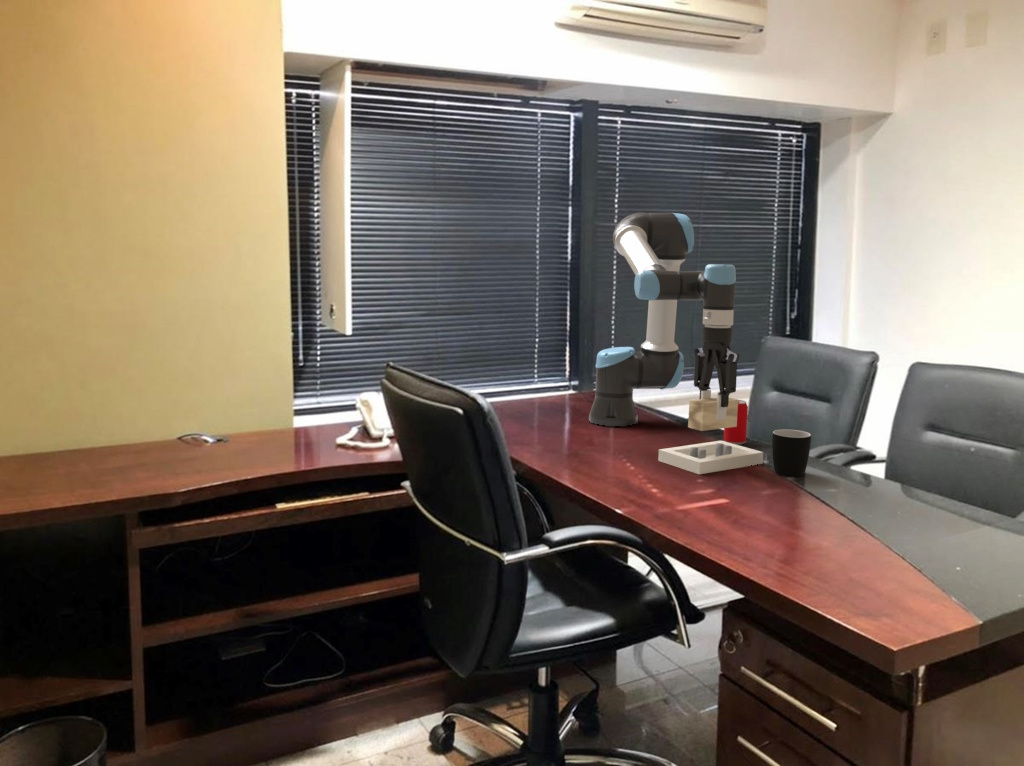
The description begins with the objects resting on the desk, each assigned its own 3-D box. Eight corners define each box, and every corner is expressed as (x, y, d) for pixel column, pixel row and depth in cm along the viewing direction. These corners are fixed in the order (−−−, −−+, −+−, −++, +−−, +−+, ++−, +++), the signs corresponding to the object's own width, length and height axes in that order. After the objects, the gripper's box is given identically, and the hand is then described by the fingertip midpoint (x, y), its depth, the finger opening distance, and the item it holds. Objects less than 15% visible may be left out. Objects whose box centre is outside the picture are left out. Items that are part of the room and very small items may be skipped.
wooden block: (688, 427, 217) (689, 400, 215) (722, 423, 223) (723, 396, 222) (701, 431, 212) (703, 403, 211) (736, 426, 218) (738, 399, 217)
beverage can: (744, 440, 244) (746, 399, 242) (747, 445, 238) (750, 403, 236) (721, 440, 245) (724, 398, 243) (725, 445, 239) (727, 402, 237)
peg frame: (658, 460, 220) (658, 445, 219) (720, 451, 231) (721, 436, 230) (699, 474, 207) (699, 458, 206) (762, 463, 218) (763, 448, 218)
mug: (815, 477, 206) (818, 436, 204) (780, 479, 204) (783, 437, 203) (791, 465, 217) (794, 426, 216) (758, 466, 216) (760, 427, 214)
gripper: (681, 323, 219) (677, 412, 223) (733, 330, 204) (728, 425, 208) (703, 323, 223) (698, 410, 227) (755, 328, 208) (750, 422, 211)
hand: (712, 417), depth 217 cm, fingers closed on wooden block, 5 cm apart
